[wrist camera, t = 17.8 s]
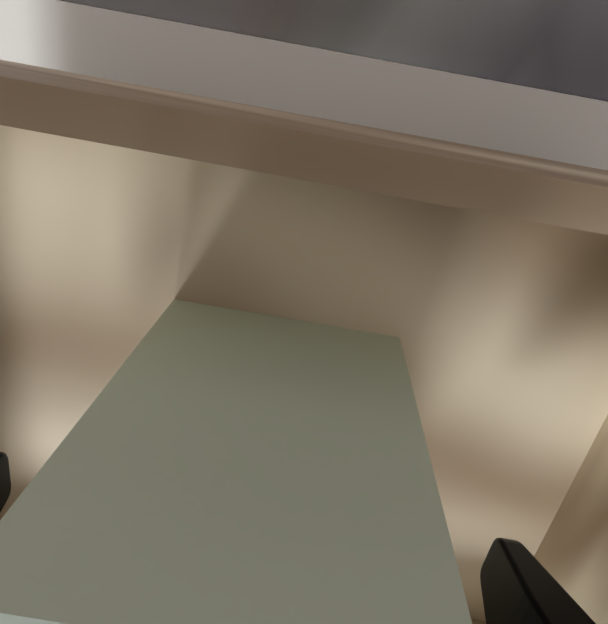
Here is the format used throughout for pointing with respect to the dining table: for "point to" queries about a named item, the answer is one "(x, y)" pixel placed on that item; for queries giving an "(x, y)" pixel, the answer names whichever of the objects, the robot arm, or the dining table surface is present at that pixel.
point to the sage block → (238, 487)
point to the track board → (305, 80)
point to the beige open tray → (320, 286)
